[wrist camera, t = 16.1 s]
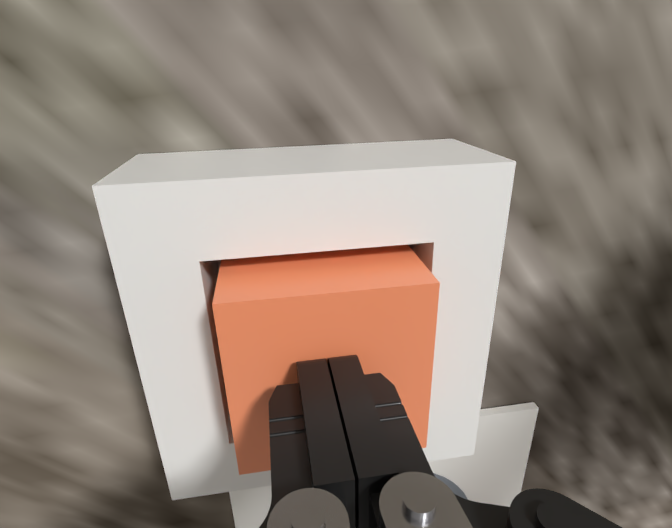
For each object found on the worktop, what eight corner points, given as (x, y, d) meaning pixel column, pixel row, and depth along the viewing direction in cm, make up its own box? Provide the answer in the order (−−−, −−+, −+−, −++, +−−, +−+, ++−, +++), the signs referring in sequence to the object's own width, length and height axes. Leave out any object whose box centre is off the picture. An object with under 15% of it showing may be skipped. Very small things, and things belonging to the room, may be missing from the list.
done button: (402, 238, 13) (439, 282, 10) (396, 379, 15) (426, 447, 12) (222, 252, 12) (212, 304, 10) (243, 398, 14) (239, 474, 12)
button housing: (452, 138, 15) (516, 161, 11) (432, 380, 19) (473, 454, 15) (137, 154, 13) (91, 185, 10) (190, 410, 17) (172, 500, 14)
